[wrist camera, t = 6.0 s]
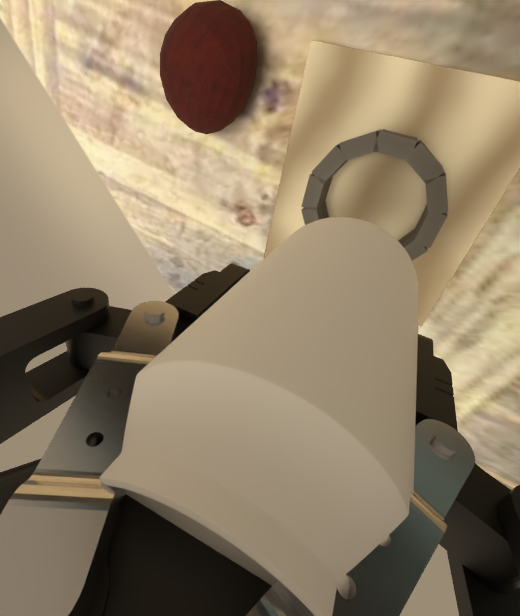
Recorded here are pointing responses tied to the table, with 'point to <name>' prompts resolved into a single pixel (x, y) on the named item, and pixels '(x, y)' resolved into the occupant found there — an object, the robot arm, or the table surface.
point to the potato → (208, 65)
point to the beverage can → (288, 412)
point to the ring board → (399, 155)
